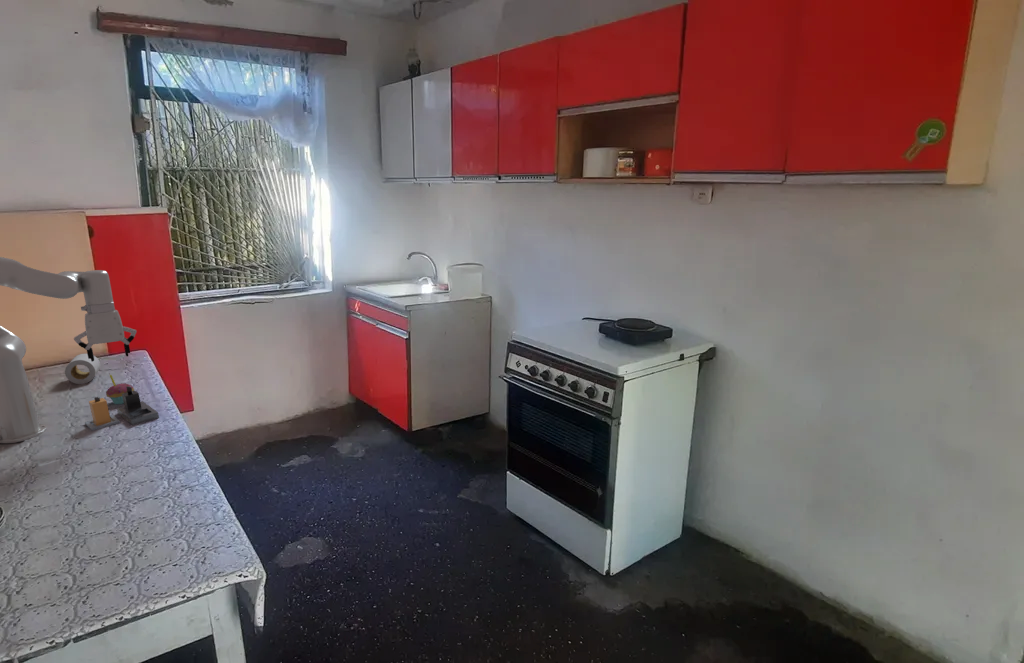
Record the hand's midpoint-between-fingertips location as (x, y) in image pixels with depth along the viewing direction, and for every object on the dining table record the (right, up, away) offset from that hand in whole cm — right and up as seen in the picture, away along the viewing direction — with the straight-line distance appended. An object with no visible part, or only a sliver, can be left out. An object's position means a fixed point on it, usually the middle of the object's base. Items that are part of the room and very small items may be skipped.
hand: (110, 357), depth 196 cm
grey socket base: (+6, -20, +5) cm, 22 cm away
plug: (-2, -22, -1) cm, 22 cm away
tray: (-2, -22, -1) cm, 22 cm away
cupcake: (-8, -17, +18) cm, 26 cm away
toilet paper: (-40, -11, +44) cm, 61 cm away
